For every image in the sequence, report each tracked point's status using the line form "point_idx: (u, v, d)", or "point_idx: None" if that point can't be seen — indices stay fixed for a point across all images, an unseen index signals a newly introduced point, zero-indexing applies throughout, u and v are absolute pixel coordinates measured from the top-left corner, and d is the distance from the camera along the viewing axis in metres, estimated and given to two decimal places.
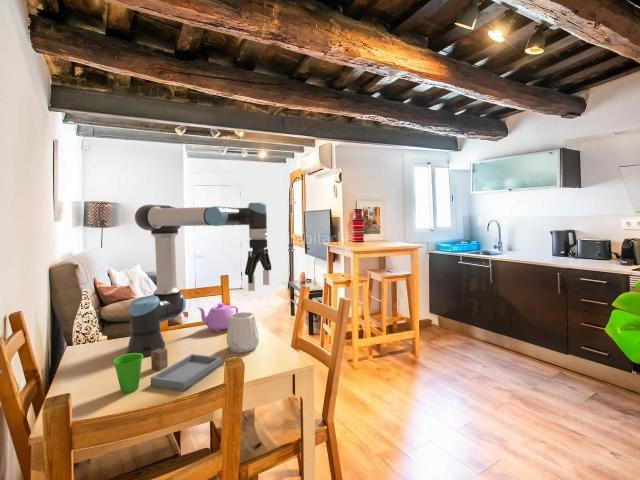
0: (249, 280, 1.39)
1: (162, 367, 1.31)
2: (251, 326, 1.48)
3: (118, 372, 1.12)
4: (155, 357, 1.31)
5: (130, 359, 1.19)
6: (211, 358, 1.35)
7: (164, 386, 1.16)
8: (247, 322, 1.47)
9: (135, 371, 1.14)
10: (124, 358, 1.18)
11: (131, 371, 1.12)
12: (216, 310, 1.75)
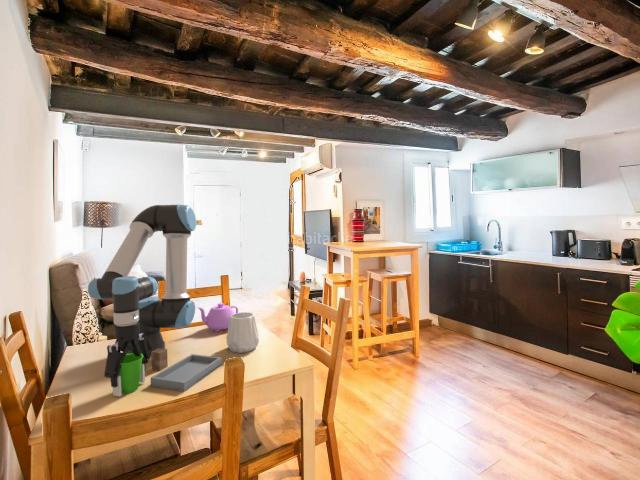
0: (112, 383, 1.09)
1: (162, 367, 1.31)
2: (251, 326, 1.48)
3: None
4: (155, 357, 1.31)
5: (130, 359, 1.19)
6: (211, 358, 1.35)
7: (164, 386, 1.16)
8: (247, 322, 1.47)
9: (135, 371, 1.14)
10: (124, 358, 1.18)
11: (131, 371, 1.12)
12: (216, 310, 1.75)
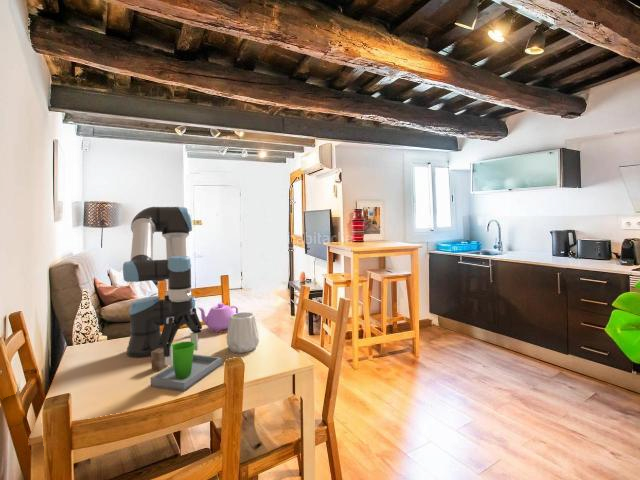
0: (165, 353, 1.15)
1: (162, 367, 1.31)
2: (251, 326, 1.48)
3: (174, 358, 1.20)
4: (155, 357, 1.31)
5: (183, 347, 1.27)
6: (211, 358, 1.35)
7: (164, 386, 1.16)
8: (247, 322, 1.47)
9: (189, 357, 1.22)
10: (177, 345, 1.26)
11: (186, 357, 1.21)
12: (216, 310, 1.75)
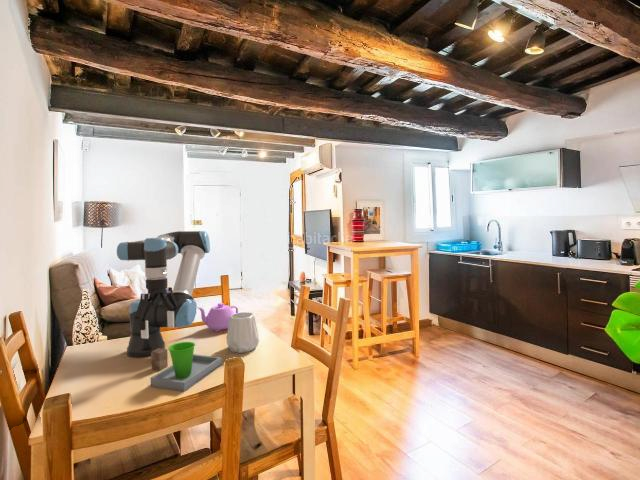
0: (141, 327, 1.24)
1: (162, 367, 1.31)
2: (251, 326, 1.48)
3: (173, 358, 1.20)
4: (155, 357, 1.31)
5: (183, 347, 1.27)
6: (211, 358, 1.35)
7: (164, 386, 1.16)
8: (247, 322, 1.47)
9: (189, 358, 1.21)
10: (177, 346, 1.26)
11: (185, 358, 1.20)
12: (216, 310, 1.75)
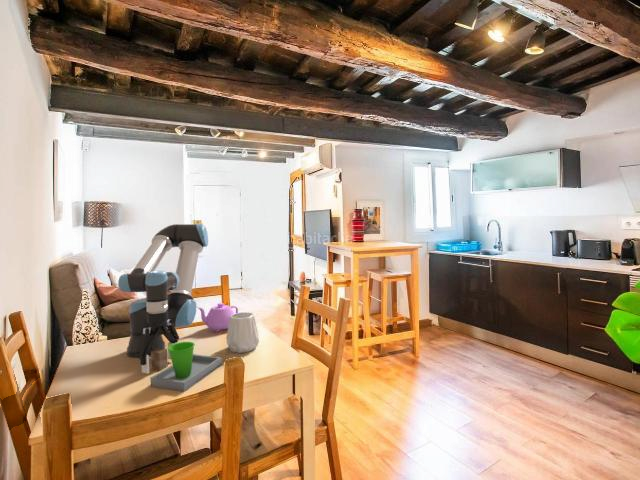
0: (141, 362, 1.24)
1: (162, 367, 1.31)
2: (251, 326, 1.48)
3: (173, 359, 1.20)
4: (155, 357, 1.31)
5: (182, 347, 1.26)
6: (211, 358, 1.35)
7: (164, 386, 1.16)
8: (247, 322, 1.47)
9: (188, 358, 1.21)
10: (176, 346, 1.25)
11: (185, 358, 1.20)
12: (216, 310, 1.75)
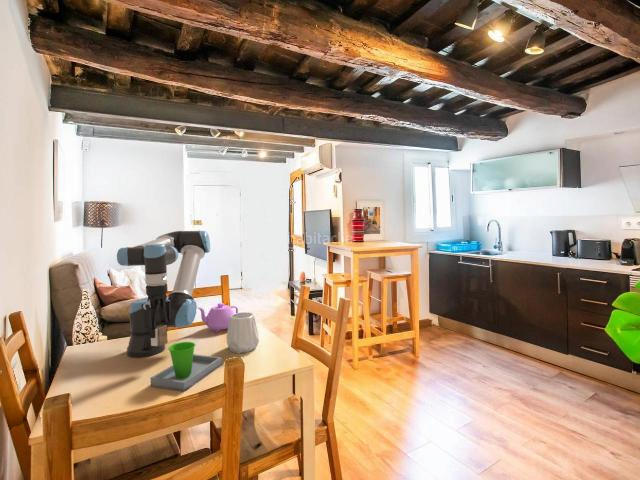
0: (151, 335, 1.29)
1: (162, 343, 1.31)
2: (251, 326, 1.48)
3: (173, 359, 1.20)
4: None
5: (183, 347, 1.26)
6: (211, 358, 1.35)
7: (164, 386, 1.16)
8: (247, 322, 1.47)
9: (189, 358, 1.21)
10: (177, 346, 1.26)
11: (185, 358, 1.20)
12: (216, 310, 1.75)
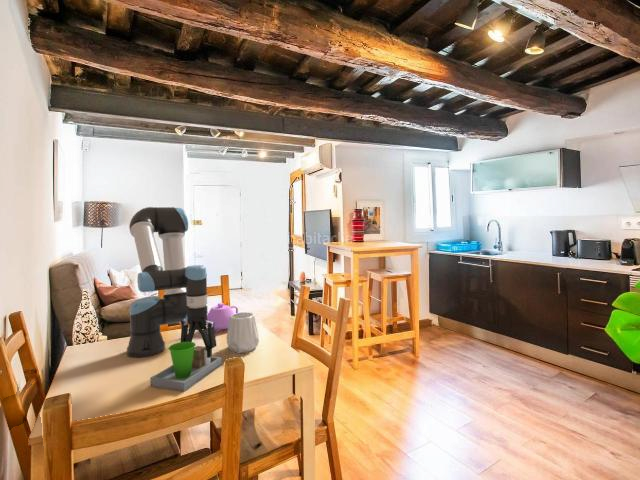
0: None
1: (193, 365, 1.30)
2: (251, 326, 1.48)
3: (173, 358, 1.20)
4: None
5: (183, 347, 1.27)
6: (211, 358, 1.35)
7: (164, 386, 1.16)
8: (247, 322, 1.47)
9: (189, 358, 1.21)
10: (177, 346, 1.26)
11: (185, 358, 1.20)
12: (216, 310, 1.75)
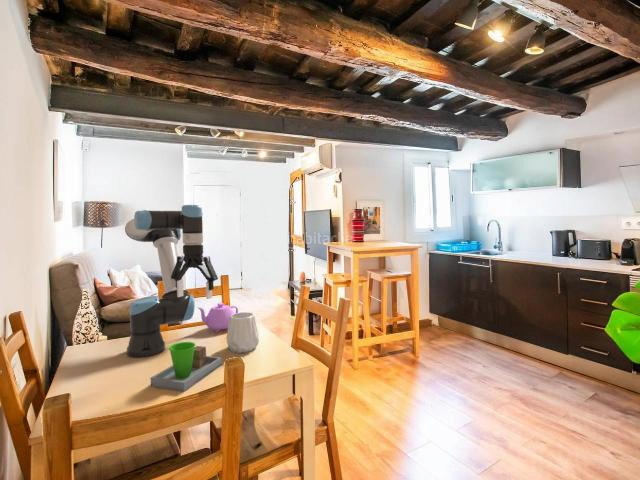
0: None
1: (193, 365, 1.30)
2: (251, 326, 1.48)
3: (173, 358, 1.20)
4: None
5: (183, 347, 1.27)
6: (211, 358, 1.35)
7: (164, 386, 1.16)
8: (247, 322, 1.47)
9: (189, 358, 1.21)
10: (177, 346, 1.26)
11: (185, 358, 1.20)
12: (216, 310, 1.75)
